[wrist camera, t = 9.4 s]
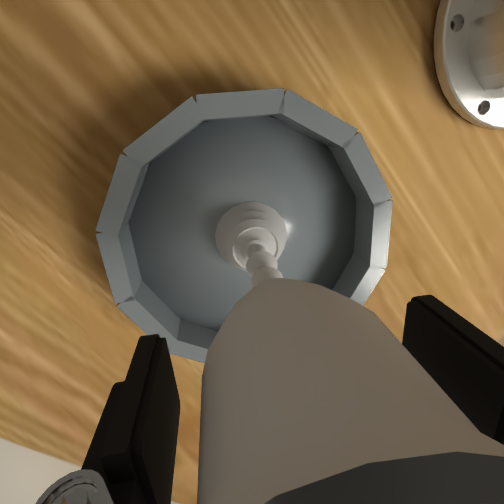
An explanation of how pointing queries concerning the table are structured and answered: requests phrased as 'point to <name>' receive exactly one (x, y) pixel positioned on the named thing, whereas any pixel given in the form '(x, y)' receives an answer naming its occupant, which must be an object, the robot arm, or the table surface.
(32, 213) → the table surface
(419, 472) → the chalice
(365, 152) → the bowl
